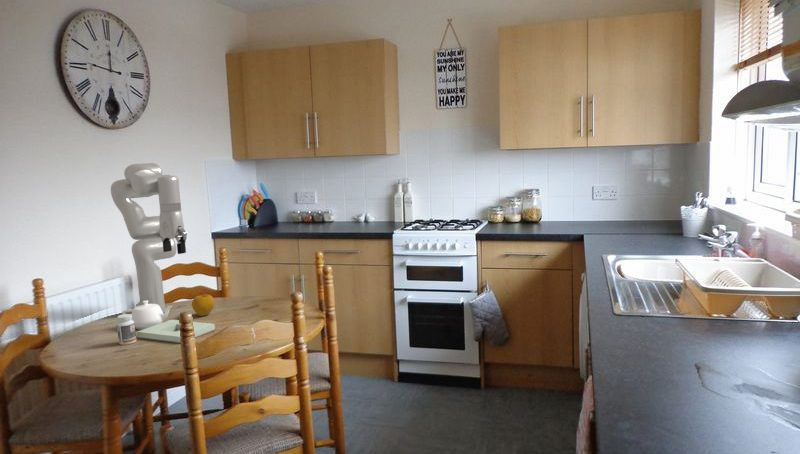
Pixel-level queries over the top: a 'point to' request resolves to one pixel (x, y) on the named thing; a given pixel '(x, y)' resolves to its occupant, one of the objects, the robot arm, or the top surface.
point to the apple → (203, 304)
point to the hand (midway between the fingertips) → (174, 252)
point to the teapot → (147, 315)
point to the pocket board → (172, 331)
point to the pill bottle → (126, 329)
